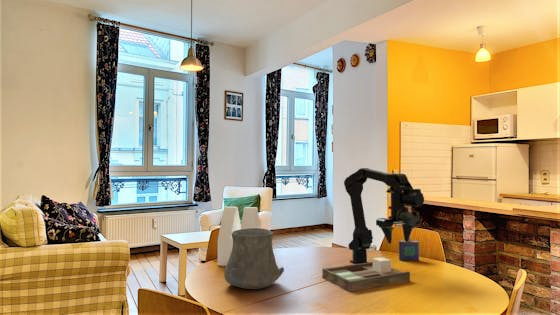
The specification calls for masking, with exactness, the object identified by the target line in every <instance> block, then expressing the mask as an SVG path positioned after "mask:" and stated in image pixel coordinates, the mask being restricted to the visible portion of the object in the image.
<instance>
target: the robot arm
mask: <svg viewBox="0 0 560 315" xmlns="http://www.w3.org/2000/svg"><path fill="white" fill-rule="evenodd" d="M368 179H370V180H375V181H376V182H377V181H378V182H381V183H384V184H385V186H388V187H389V188H388V189H387V190H385V191H386V193H387V194H390V205H389V206H388V209H389V210H390V215H389V216H388V218H385V217H380V218H377V219H376V220H375V225H376V227H377V226H378V228H380V229H381V231H382V233H383V234H384V236H385V239H386V241H387V243H388V244H391V245H392V239H393V238H392V234H393V232H392V231H393V230H394V229H395V228H394V225H399V224H401V227H402V232H403V238H404V239H403V240H405V242H408V239H409V238H411V237H410V236H411V234H412V231H413V229H415V227H418V225H420V223H421V220H420V218H421V216H420V215H421V214H420V212H418V211H412V212H410V211H409V208H408V207H409V206H412V207H419V208H420V207H422V206H423V205H424V203H425V196H424V194H423V192H422V191H421V190H422V189H421V188H414V187H413V186H412V185H411V182H410V181H409V179H408V176H407V174H405V173H389V172H383V171H379V170H376V169H375V170H374V169H370V168H367V167H360V168H359V169H358V170H357V171H355V172H353V173H352V174H350V175H349V176H347V177H346V178H345V179H344V181H343V184H344V188H345V192H346V193H347V195H348V196H349V198H350V204H351V211H352V216H353V223H354V229H353V232H352V240H351V241H350V242H349V243H348V249H349V250H350V251H352V260H349V262H350V263H352V264H353V265H354V264H361V263H369V262H370V261H368V253H367V250H369V249H370V248H371V245H372V243H373V240H374V237H373V231H372V229H369V228H368V226H367V225H366V224H367V223H366V218H365V211H364V207H363V206H364V205H363V199H362V193H363V190H364V184H366V182H367V181H368ZM407 206H408V207H407Z"/></svg>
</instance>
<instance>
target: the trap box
mask: <svg viewBox="0 0 560 315" xmlns="http://www.w3.org/2000/svg"><path fill="white" fill-rule="evenodd" d="M368 262H369V263H361V264H354V263H353V264H347V265H340V266H334V267H333V266H332V267H325V268H322V271H321V272H322V278H323V279H324V280H326V281H328V282H330V283H332V284H334V285H335V286H338V287H340V288H341V289H343V290H345V291H347V292H349V293H350V292H351V293H352V292H356V291H362V290H368V289H373V288H379V287H386V286H391V285H397V284H404V283H409V282H411V272H410V271H400V270H398V269H394V268H392V267H391V272H385V273H380V272H377V271H375V270H373V261H371V262H370V261H368Z"/></svg>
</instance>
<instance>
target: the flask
mask: <svg viewBox="0 0 560 315" xmlns="http://www.w3.org/2000/svg"><path fill="white" fill-rule="evenodd" d="M398 259H399V261H401V262H419V261H420V242H419V241H418V240H412V238H411V237H409V239H408V242H405V239H402V240H399V241H398Z"/></svg>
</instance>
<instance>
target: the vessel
mask: <svg viewBox="0 0 560 315" xmlns="http://www.w3.org/2000/svg"><path fill="white" fill-rule="evenodd" d="M231 234H232V239H233V247H232V251H231V254H230V257H229V260H228V262H227V265H226V266H225V267H224V272H223V277H224V280H225V281H226V283H227V284H229V285H231V286H234V287H238V288H242V289H248V290H259V289H260V290H261V289H265V288H267V287H270V286H271V285H272V284H273V283H275V282H276V281H277V280H278V279H280V277H281V276H282V275H283V274H284V271H285V268H284V267H283V266H282V267H278V265H277V262H276V256H275V254H274V248H273V236H274V231H271V230H270V229H266V228H261V229H260V228H248V229H241V230H236V231H234V232H232V233H231Z"/></svg>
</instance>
